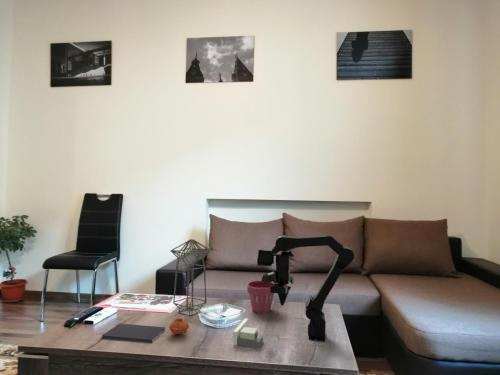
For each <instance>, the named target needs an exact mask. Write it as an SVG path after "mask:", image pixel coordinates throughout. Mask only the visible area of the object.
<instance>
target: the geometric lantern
mask: <svg viewBox="0 0 500 375" xmlns="http://www.w3.org/2000/svg"><path fill="white" fill-rule="evenodd" d="M188 246H189V247H188ZM180 247H181V248H180ZM202 247H203V248H205V249H203V248H202ZM178 248H180V249H178ZM177 249H178V250H177ZM192 250H193V253H191V252H192ZM212 251H213V250H212V249H210V248H208V247H207V246H205V245H204V244H203V243H201V242H199V241H197V240H196V239H194V238H193V239H191V238H190V239H188V240H187V241H185V242H184V243H182V244H179V245H178V246H176V247H174V248H173V249H171V250H170V252H171V253H172V254H173V255H174V257H175V258H177V260H176V265H175V275H174V276H175V277H174V278H175V279H174V289H173V290H174V291H173V305H175V306H176V308H178V314H182V315H184V316H189V317H191V316H194V315H196V314H199V313H198V312H199V310H200V309H201V310H202V307H204V306H205V305H206V304H207V290H206V289H207V287H206V286H207V285H206V284H207V282H206V277H207V276H206V275H207V274H206V267H207V266H206V264H205V257H207V255H209V254H210V253H211V252H212ZM196 254H197V255H196ZM190 255H193V256H194V257H195V258H196V259H195V260H194V261H193V263H190V262H189V260H188V259H187V257H188V256H190ZM180 260H183V263H184V264H182V265H179V264H180ZM185 260H186V261H185ZM199 260H201V261H202V264H197V261H199ZM186 262H187V263H188V264H187V263H186ZM184 266H185V268H184ZM194 266H198V267H196V268H194ZM179 269H182V270H187V275H186V276H187V277H186V278H187V279H186V297H184V298H180V299H178V300H176V291H177V290H176V289H177V280H178V272H179V271H178V270H179ZM199 269H203V280H204V285H203V286H204V299H201V298H197V297H194V281H195V280H194V275H195V274H194V273H195V272H194V270H199ZM190 275H191V296H190V297H189V290H190V289H189V288H190ZM189 299H191V300H190V303H189ZM184 300H186V302H185V303H186V304H180V303H177V302H180V301H184ZM194 300H197V301H201V302H202V303H201V302H200V303H198V304H194ZM194 307H197V308H194ZM183 311H188V312H189V313H188V314H186V313H183ZM193 311H196V312H195V313H191V312H193Z"/></svg>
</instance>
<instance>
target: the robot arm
mask: <svg viewBox="0 0 500 375" xmlns="http://www.w3.org/2000/svg"><path fill="white" fill-rule="evenodd" d="M323 246H325V247H326V246H327V247H329V248H330V249H331V250H332V251H333V252H334V253H335V254H336V255H335V258H334V261H333V265H332V267H331V268H330V270H329V272H328V273H327V275H326V277H325V279H324V280H323V282H322V283H321V285H320V287H319V289H318V290H317V292H316V294H315V295H313V296H312V295H311V294H310V295H309V297H308V298H307V301H305V302H304V304H305V312H304V313H305V317H306V318H307V319H308V320H309V322H308V324H307V336H308V340H312V341H319V342H326V339H327V330H326V328H327V321H326V316H325V315H326V314H325V313H324V312H323V309H324V304H325V301H326V300H327V297H328V296H329V294H330V293H331V291H332V290H333V288H334V286H335V284H336V282H338V281H337V280H338V279H339V277H340V275H341V274H342V272H344V271H345V270H346V268H348V267H349V266H350V265H351V263H352V262H354V261H353V260H354V259H355V253H354V251H353V250H352V249H351V248H350V247H348V246H345V245H343V244H341V243H340V242H339V241H338V240H337V239H335V237H333V235H331V234H326V235H315V236H314V235H313V236H311V235H310V236H299V237H298V236H291V235H286V234H285V235H284V234H283V235H280V236H277V238H276V241H275V245H274V246H272V248H271V249H262V248H259V249H257V250H258V252H257V253H258V254H257V260H256V263H257V264H256V265H257V267H272V266H273V265H275V268H274V270H273V271H272V272H268V273H267V272H266V273H264V274H262V275H261V278H260V280H261V281H262V282H263V283H264V284H267V283H269V282H273V283H274V284H273V285H272V286H271V287H270V293H274V294H277V296H278V299H279V303H280V306H284V305H285V303H286V300H287V298H288V296H289V293H290V290H291V289H292V286H289V284H291V285H293V284H294V282H295V277H293V275H291V274H290V272H291V271H292V270H291V268H290V267H291V265H290V263H291V262H290V260H291V257H292V258H293V257H295V253H294V252H293V251H292V250H294V249H297V248H307V247H323Z"/></svg>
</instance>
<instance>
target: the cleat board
mask: <svg viewBox="0 0 500 375" xmlns="http://www.w3.org/2000/svg"><path fill="white" fill-rule="evenodd" d="M249 322H250V321H249V318H246V317H245V318H244V319H243V320H242V321H241V323H239V324H238V325H237V327H236V328H235V329H234V330H233V331H232V333H233V334H232V339H233V340H232V344H233V345H232V346H238V347H243V348H245V347H246V348H252V349H256V350H257V349H259V348H260V347H261V345H262V344H263V342H264V337H263V336H264V335H261V334H260V335H258V339H257V340H250V339H243V338H240V331H241V330H242V329H243V328H244V327H249V324H250V323H249ZM249 328H250V327H249Z"/></svg>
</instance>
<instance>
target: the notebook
mask: <svg viewBox="0 0 500 375" xmlns="http://www.w3.org/2000/svg"><path fill="white" fill-rule="evenodd" d="M165 329H166V327H165V326H152V325H143V324H142V325H140V324H133V323H132V324H131V323H130V324H129V323H118V324H116V325H115V326H114V327H112V328H111V329H109V330H107V331H106V332H105V333H103V334H102V335H101V339H108V340H117V341H118V340H120V341H131V342H140V343H141V342H142V343H152V344H153V342H154V341H156V339H157V338H158V337H160V335H162V333H164V332H165Z"/></svg>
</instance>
